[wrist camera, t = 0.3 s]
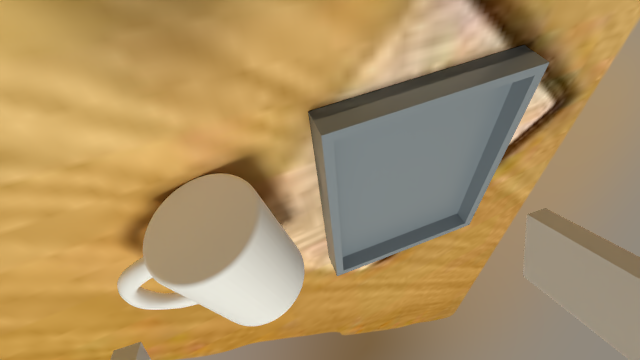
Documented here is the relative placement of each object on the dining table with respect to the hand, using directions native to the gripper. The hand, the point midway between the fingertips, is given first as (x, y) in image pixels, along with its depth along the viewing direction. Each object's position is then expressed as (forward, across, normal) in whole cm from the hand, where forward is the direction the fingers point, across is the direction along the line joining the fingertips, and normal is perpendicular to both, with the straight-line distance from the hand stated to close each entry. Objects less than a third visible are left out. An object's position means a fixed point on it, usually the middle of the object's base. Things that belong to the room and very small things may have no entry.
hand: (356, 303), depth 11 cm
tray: (+19, +11, -6) cm, 23 cm away
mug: (+18, -8, -4) cm, 20 cm away
